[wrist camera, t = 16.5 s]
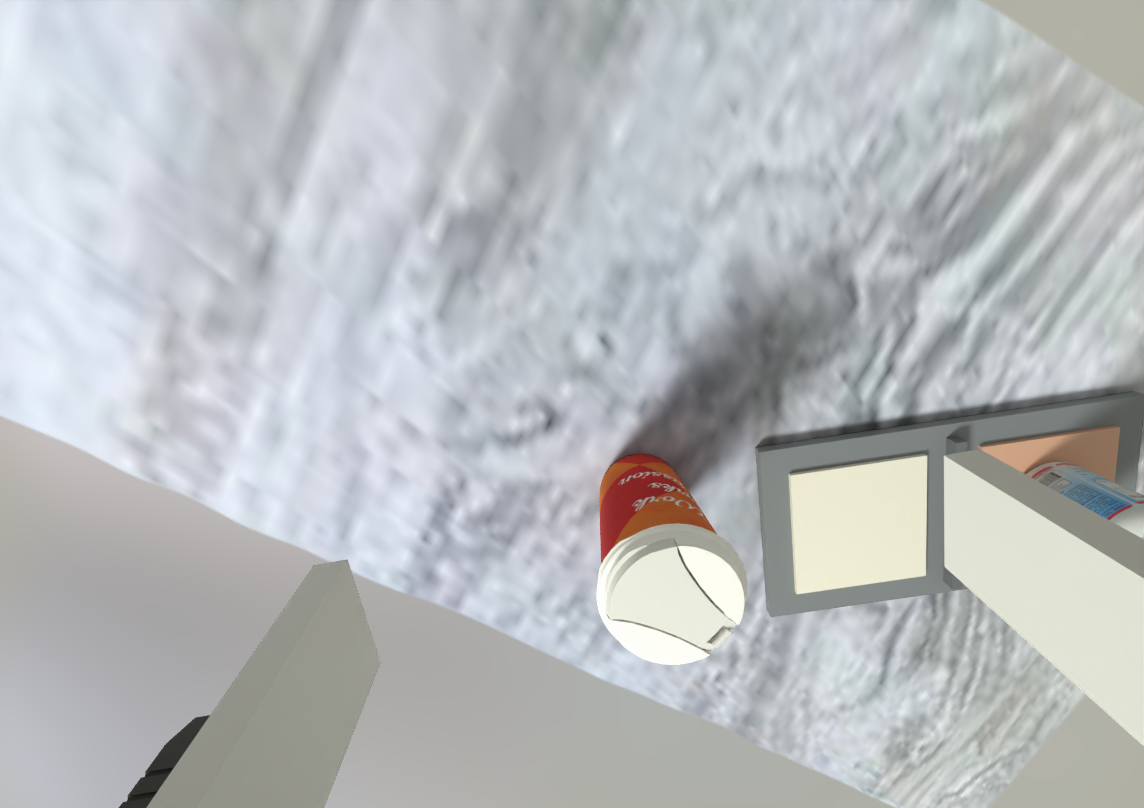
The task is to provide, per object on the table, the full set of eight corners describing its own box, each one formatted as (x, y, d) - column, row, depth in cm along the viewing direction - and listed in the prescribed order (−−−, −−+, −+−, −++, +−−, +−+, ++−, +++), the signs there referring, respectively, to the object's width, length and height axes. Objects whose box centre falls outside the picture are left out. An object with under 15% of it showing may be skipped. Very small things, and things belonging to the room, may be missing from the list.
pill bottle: (1013, 544, 48) (1147, 638, 37) (1000, 474, 46) (1136, 552, 35) (1092, 518, 47) (1252, 606, 36) (1082, 447, 46) (1246, 517, 35)
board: (755, 447, 46) (765, 458, 44) (1133, 391, 46) (1161, 399, 44) (766, 609, 50) (776, 626, 48) (1115, 559, 50) (1140, 574, 48)
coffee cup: (716, 481, 47) (787, 594, 33) (645, 558, 49) (684, 699, 34) (630, 415, 45) (666, 504, 31) (561, 498, 47) (564, 619, 33)
